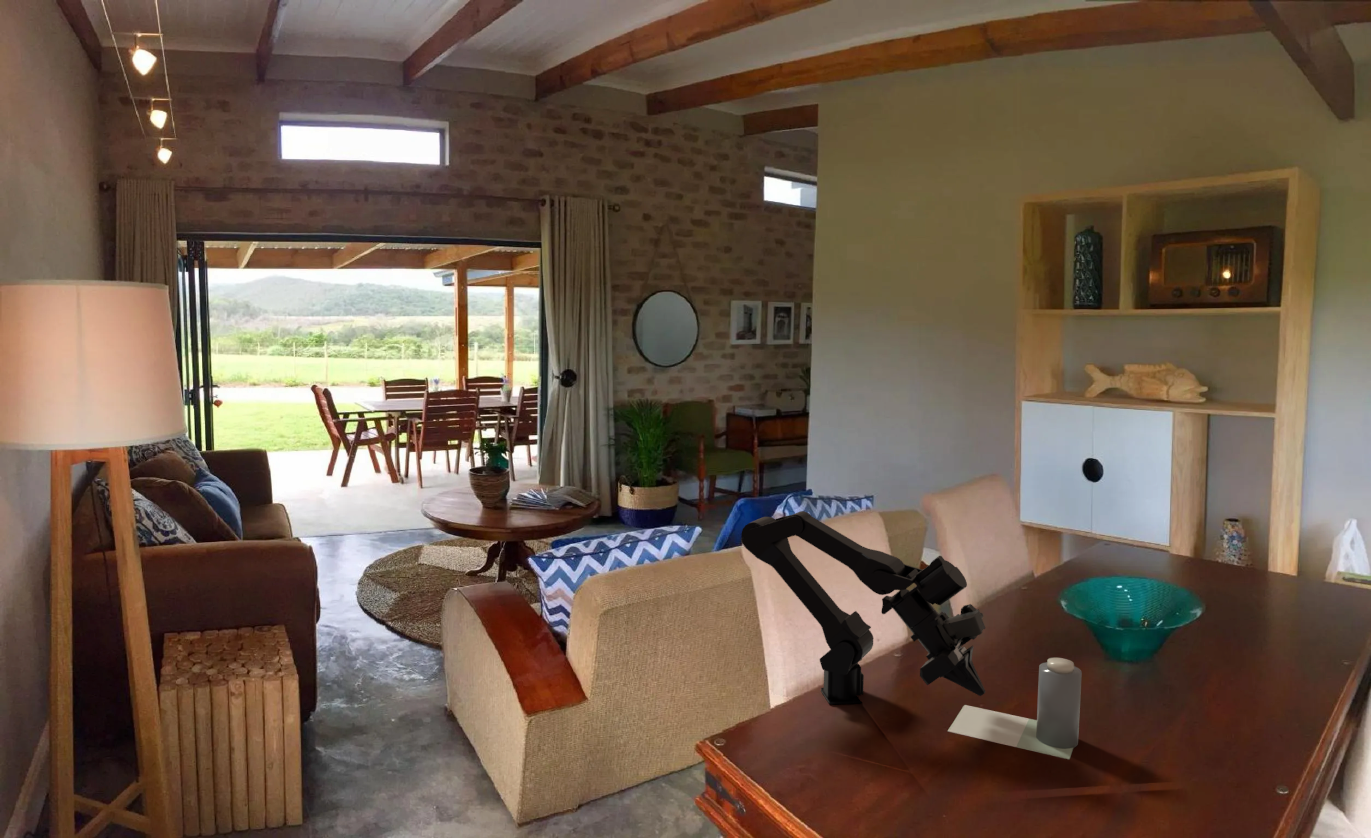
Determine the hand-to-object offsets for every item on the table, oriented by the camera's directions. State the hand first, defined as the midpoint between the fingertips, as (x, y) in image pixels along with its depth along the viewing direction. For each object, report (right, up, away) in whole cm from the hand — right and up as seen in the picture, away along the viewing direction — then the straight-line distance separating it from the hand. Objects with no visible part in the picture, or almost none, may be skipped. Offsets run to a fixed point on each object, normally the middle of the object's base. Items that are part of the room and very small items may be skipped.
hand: (983, 694), depth 151 cm
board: (+4, -6, -2) cm, 8 cm away
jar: (+10, -6, -5) cm, 13 cm away
